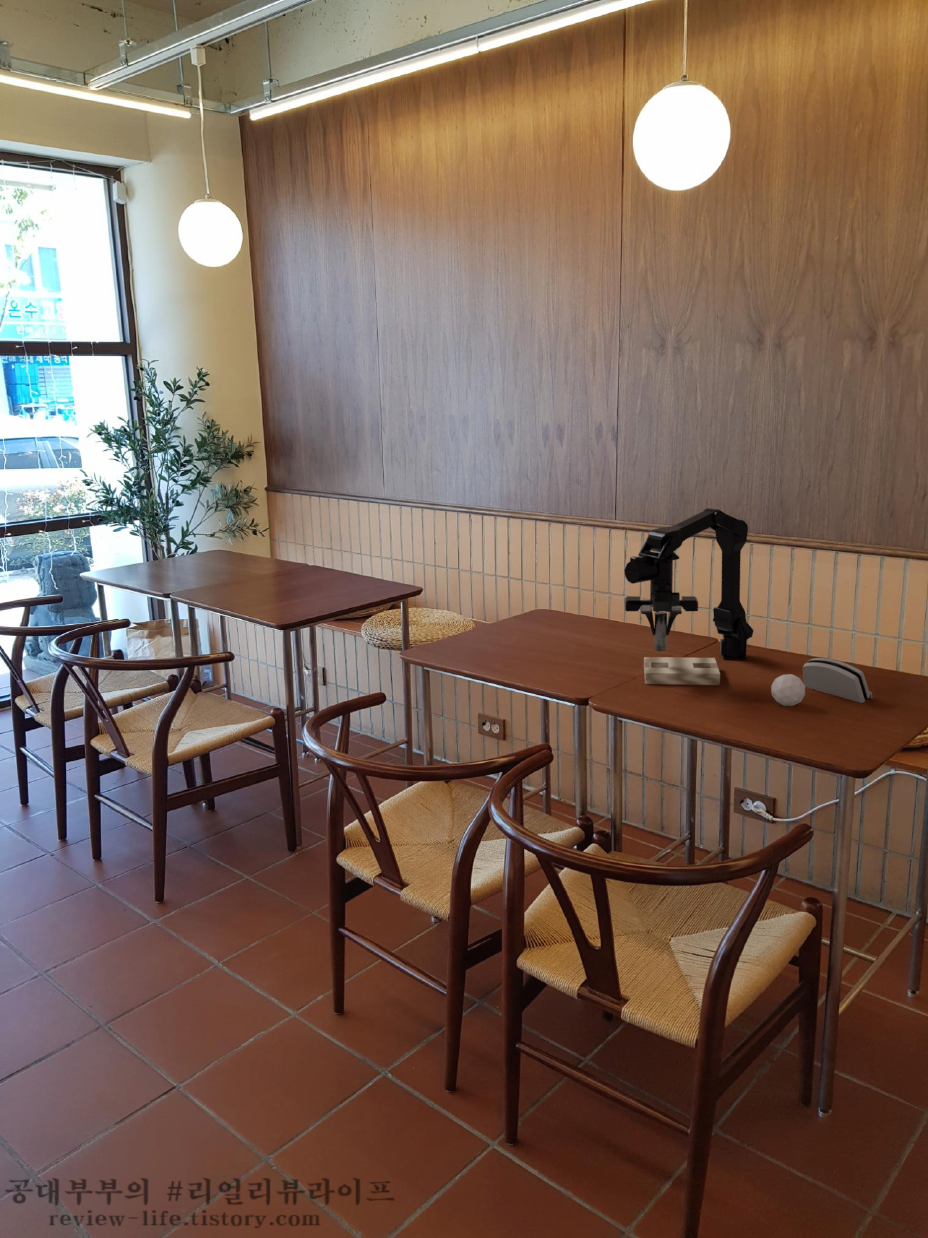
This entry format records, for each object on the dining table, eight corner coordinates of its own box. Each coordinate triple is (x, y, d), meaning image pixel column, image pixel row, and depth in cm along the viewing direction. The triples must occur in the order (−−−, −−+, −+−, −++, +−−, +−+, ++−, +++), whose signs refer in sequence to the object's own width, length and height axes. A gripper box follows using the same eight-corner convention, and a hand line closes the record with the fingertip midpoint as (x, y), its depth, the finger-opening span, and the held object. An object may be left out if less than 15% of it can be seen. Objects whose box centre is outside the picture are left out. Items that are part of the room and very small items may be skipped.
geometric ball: (786, 718, 226) (776, 698, 221) (771, 697, 232) (761, 677, 228) (815, 703, 225) (805, 682, 220) (798, 682, 231) (789, 662, 227)
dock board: (714, 668, 256) (714, 657, 255) (719, 684, 243) (720, 674, 242) (643, 667, 259) (643, 657, 259) (645, 683, 246) (645, 673, 245)
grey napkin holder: (874, 698, 229) (869, 664, 225) (863, 708, 227) (857, 675, 223) (814, 682, 242) (808, 649, 238) (803, 691, 240) (797, 659, 236)
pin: (666, 647, 251) (666, 611, 249) (666, 651, 248) (667, 614, 246) (654, 647, 252) (654, 611, 249) (654, 651, 249) (655, 614, 246)
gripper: (625, 584, 239) (625, 643, 243) (700, 584, 236) (699, 643, 240) (625, 575, 249) (625, 631, 253) (697, 575, 247) (695, 632, 251)
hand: (660, 635), depth 249 cm, fingers closed on pin, 3 cm apart
